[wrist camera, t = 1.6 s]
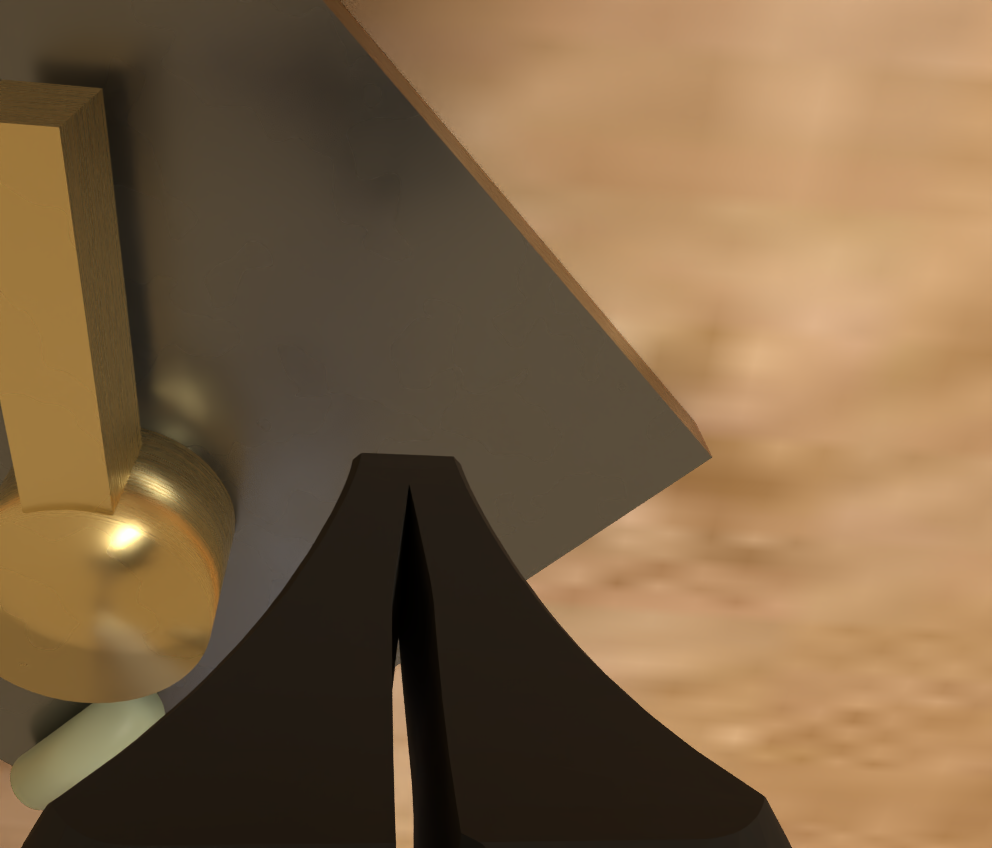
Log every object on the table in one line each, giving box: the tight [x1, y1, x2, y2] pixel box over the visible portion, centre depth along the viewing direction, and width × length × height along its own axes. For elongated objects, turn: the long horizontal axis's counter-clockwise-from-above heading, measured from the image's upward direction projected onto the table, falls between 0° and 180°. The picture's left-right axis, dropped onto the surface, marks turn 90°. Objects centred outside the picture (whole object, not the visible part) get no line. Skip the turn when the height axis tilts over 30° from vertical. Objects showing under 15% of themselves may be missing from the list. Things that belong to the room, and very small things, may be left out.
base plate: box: [0, 0, 712, 810], centre depth 20 cm, size 20×20×3 cm
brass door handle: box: [0, 80, 235, 703], centre depth 18 cm, size 12×5×3 cm, turn 174°
